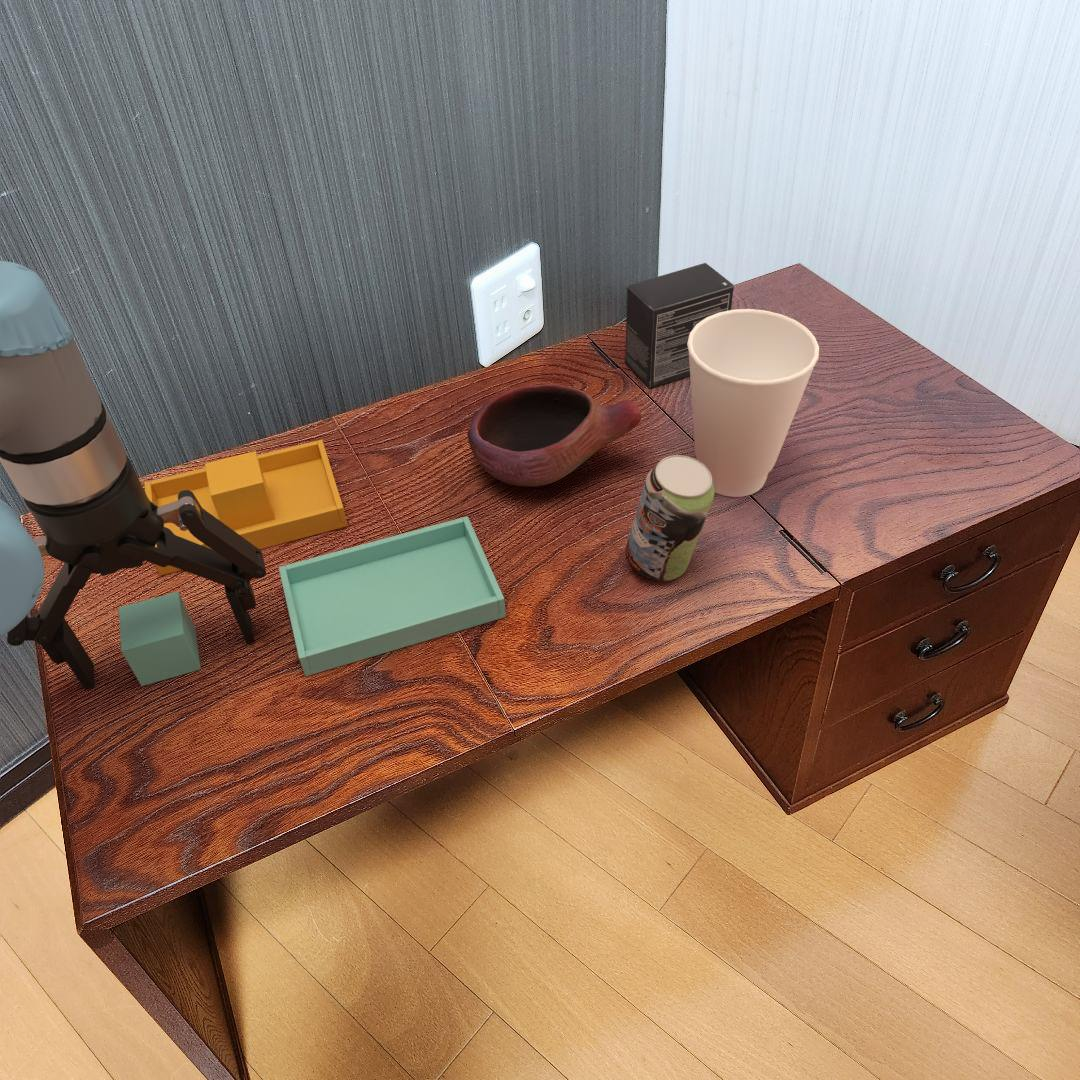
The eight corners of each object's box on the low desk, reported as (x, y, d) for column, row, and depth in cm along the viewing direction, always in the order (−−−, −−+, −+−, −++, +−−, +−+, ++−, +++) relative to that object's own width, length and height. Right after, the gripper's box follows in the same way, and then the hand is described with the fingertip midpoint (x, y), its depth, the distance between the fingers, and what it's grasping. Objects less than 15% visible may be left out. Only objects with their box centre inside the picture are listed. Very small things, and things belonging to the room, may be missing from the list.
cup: (810, 464, 97) (841, 333, 85) (757, 530, 90) (784, 398, 79) (709, 423, 102) (726, 295, 90) (652, 484, 95) (663, 353, 84)
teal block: (141, 686, 80) (121, 650, 76) (138, 643, 83) (118, 607, 79) (200, 669, 81) (183, 633, 77) (195, 627, 84) (178, 591, 80)
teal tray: (305, 676, 80) (298, 658, 78) (284, 585, 87) (278, 566, 85) (506, 617, 84) (504, 598, 82) (470, 534, 91) (467, 515, 89)
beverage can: (627, 538, 90) (632, 442, 82) (703, 544, 89) (717, 448, 81) (622, 586, 86) (627, 491, 77) (702, 593, 85) (716, 498, 76)
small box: (697, 337, 114) (706, 259, 106) (727, 365, 109) (738, 285, 102) (621, 361, 111) (625, 282, 103) (649, 390, 106) (654, 310, 99)
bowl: (506, 524, 92) (502, 463, 86) (454, 451, 100) (446, 391, 94) (644, 471, 97) (649, 410, 91) (584, 405, 105) (584, 345, 99)
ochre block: (224, 532, 92) (210, 495, 88) (218, 500, 95) (204, 463, 91) (275, 519, 93) (263, 482, 89) (267, 487, 96) (255, 450, 92)
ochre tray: (160, 576, 89) (151, 557, 87) (152, 500, 96) (144, 482, 94) (348, 526, 92) (343, 507, 91) (326, 457, 100) (322, 439, 98)
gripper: (244, 403, 72) (304, 584, 87) (-109, 486, 66) (21, 663, 82) (258, 462, 67) (319, 643, 82) (-123, 557, 61) (18, 732, 77)
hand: (170, 654), depth 82 cm, fingers open, 13 cm apart
